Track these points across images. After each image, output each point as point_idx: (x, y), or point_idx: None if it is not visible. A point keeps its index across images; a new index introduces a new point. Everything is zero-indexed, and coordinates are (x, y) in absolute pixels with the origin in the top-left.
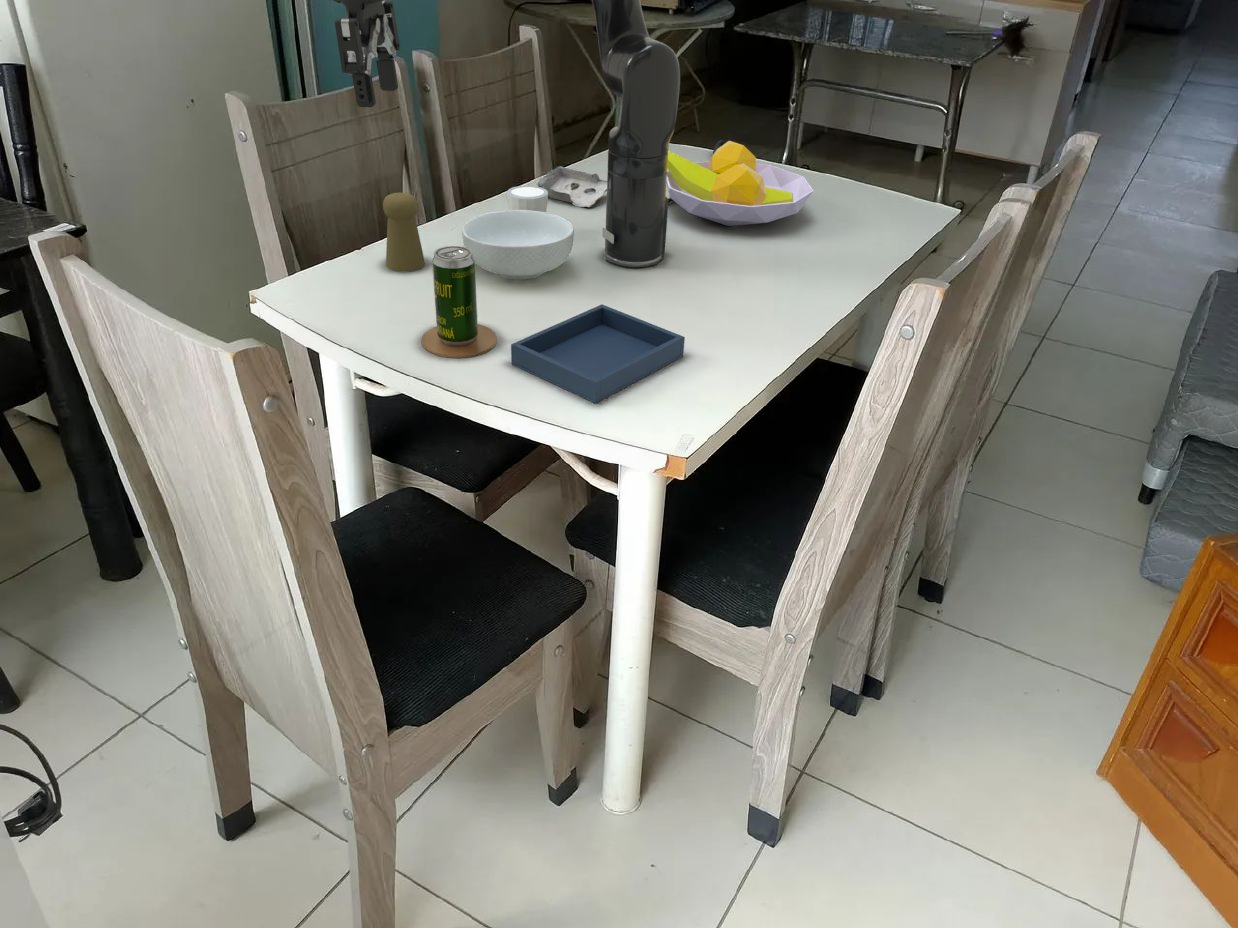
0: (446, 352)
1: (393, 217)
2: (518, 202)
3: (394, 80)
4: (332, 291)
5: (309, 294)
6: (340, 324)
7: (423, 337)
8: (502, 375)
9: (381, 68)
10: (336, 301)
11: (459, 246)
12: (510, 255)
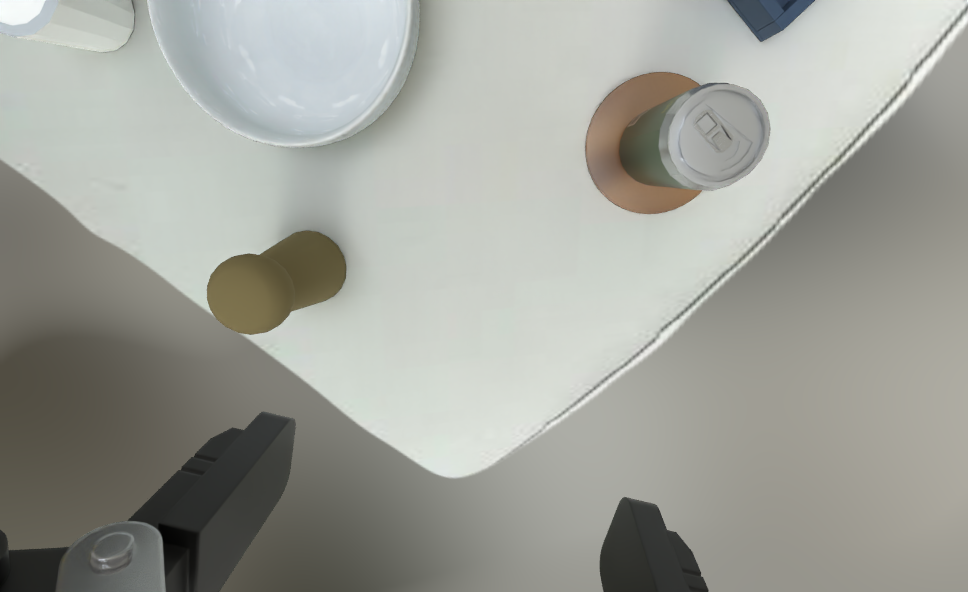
0: None
1: (293, 304)
2: (67, 6)
3: (271, 448)
4: (437, 378)
5: (450, 411)
6: (570, 351)
7: (645, 211)
8: (801, 59)
9: (225, 561)
10: (478, 367)
11: (672, 122)
12: (416, 25)
